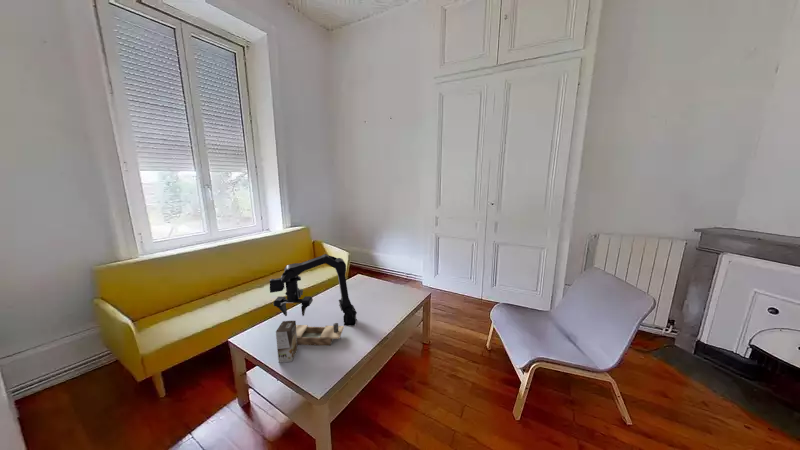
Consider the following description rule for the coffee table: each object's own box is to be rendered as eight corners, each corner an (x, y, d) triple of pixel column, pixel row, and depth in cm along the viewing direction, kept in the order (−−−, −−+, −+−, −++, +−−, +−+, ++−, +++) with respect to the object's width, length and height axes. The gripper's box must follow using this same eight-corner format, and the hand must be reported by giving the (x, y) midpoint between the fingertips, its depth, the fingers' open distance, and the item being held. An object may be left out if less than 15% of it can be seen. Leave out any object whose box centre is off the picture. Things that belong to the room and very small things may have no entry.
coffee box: (292, 362, 124) (289, 331, 120) (278, 362, 123) (275, 332, 120) (298, 349, 133) (295, 320, 129) (284, 349, 132) (282, 320, 129)
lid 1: (307, 326, 145) (307, 318, 143) (300, 337, 135) (299, 329, 134) (290, 326, 145) (289, 317, 144) (281, 337, 135) (280, 328, 134)
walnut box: (335, 333, 145) (335, 327, 144) (330, 345, 135) (329, 338, 134) (299, 332, 145) (298, 326, 145) (291, 344, 136) (290, 337, 135)
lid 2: (343, 327, 144) (343, 319, 143) (339, 338, 134) (338, 330, 133) (325, 326, 144) (325, 318, 143) (320, 338, 135) (319, 329, 133)
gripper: (314, 282, 146) (316, 307, 150) (281, 282, 146) (284, 307, 150) (307, 291, 135) (310, 319, 139) (271, 291, 135) (274, 319, 139)
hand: (294, 315), depth 142 cm, fingers open, 9 cm apart
